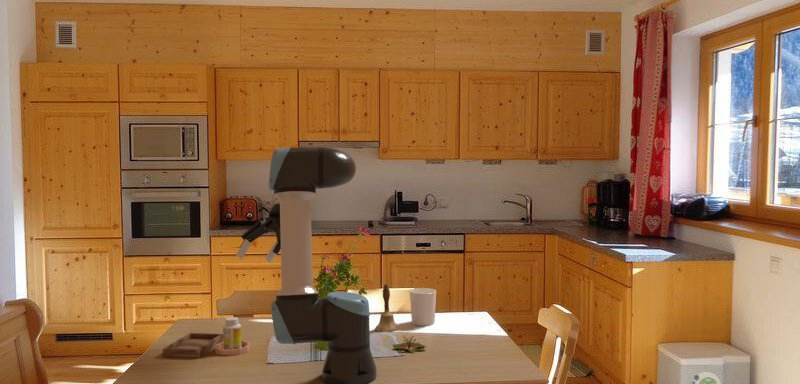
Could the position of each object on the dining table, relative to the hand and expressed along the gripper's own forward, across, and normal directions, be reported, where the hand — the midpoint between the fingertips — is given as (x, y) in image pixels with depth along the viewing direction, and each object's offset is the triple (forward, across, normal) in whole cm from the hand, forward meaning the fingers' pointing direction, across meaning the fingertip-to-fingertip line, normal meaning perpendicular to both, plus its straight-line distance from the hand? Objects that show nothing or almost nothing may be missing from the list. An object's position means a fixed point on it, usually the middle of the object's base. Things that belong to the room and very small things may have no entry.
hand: (253, 259), depth 206 cm
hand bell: (-5, -29, -45) cm, 54 cm away
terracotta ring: (+27, 0, -13) cm, 30 cm away
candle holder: (-14, -36, -55) cm, 67 cm away
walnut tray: (+30, +12, -9) cm, 34 cm away
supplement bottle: (+27, 0, -13) cm, 30 cm away
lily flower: (+6, -48, -34) cm, 59 cm away
